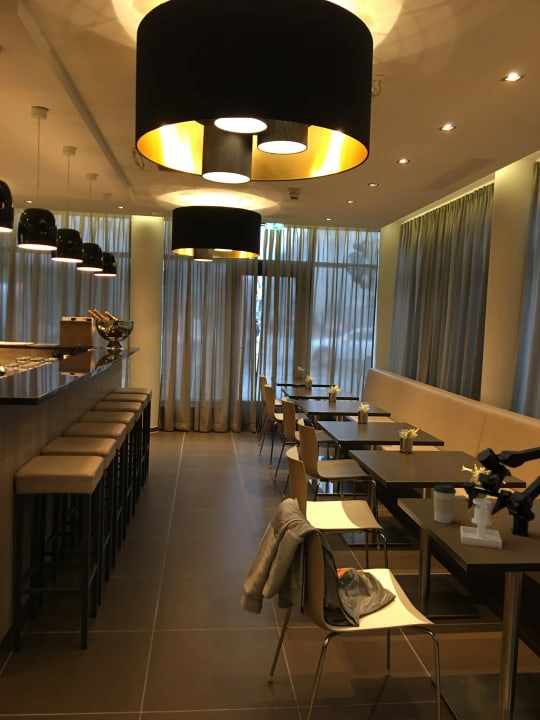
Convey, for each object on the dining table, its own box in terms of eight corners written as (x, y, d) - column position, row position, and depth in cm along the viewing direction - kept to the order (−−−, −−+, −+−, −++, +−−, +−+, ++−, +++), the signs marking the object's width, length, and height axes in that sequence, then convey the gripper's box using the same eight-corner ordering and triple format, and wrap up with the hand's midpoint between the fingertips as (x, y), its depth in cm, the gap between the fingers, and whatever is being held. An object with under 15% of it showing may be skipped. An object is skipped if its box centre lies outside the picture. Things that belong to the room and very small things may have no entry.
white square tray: (460, 532, 225) (460, 525, 225) (497, 537, 222) (497, 530, 222) (461, 543, 212) (462, 536, 212) (501, 548, 209) (501, 541, 208)
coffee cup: (456, 520, 241) (458, 484, 241) (451, 525, 234) (453, 488, 233) (434, 516, 246) (436, 480, 245) (429, 521, 238) (431, 484, 238)
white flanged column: (494, 540, 214) (497, 500, 215) (477, 540, 213) (480, 499, 213) (483, 535, 221) (486, 495, 221) (467, 535, 220) (469, 495, 220)
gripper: (466, 460, 226) (449, 492, 219) (513, 469, 212) (497, 504, 205) (475, 478, 231) (459, 510, 224) (522, 488, 217) (506, 522, 210)
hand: (479, 511), depth 216 cm, fingers open, 9 cm apart
